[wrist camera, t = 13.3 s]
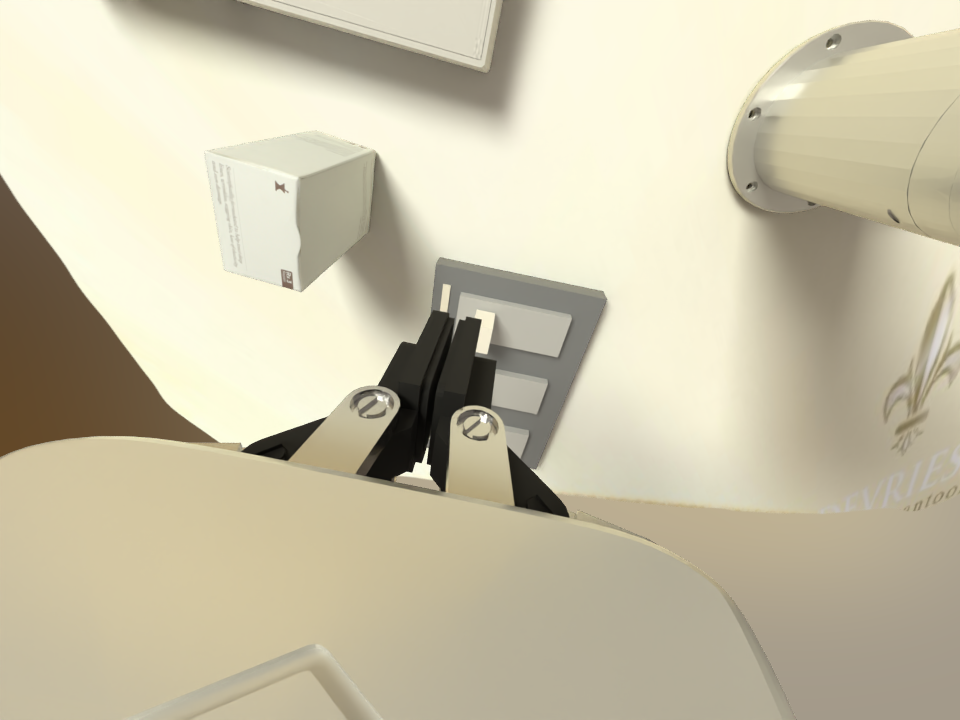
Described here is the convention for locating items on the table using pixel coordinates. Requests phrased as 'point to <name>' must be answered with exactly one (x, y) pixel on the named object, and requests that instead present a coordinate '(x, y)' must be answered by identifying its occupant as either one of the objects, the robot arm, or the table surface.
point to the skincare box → (290, 204)
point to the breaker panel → (523, 342)
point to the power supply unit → (408, 24)
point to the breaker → (484, 330)
